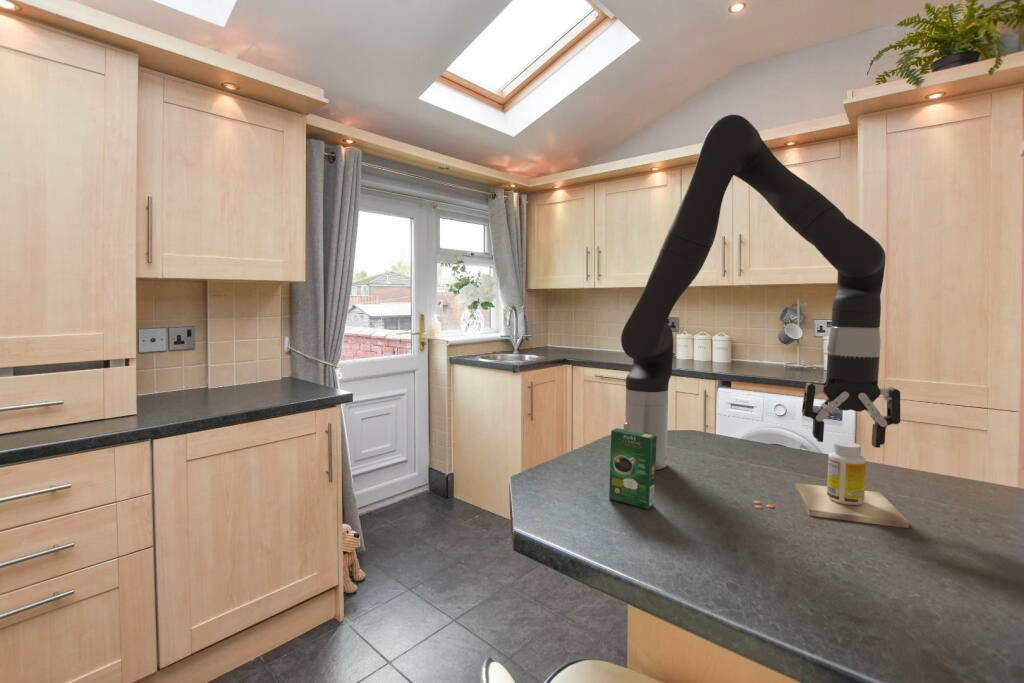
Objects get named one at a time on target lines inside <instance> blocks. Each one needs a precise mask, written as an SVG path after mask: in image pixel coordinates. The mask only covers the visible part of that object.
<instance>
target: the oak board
mask: <svg viewBox="0 0 1024 683" xmlns="http://www.w3.org/2000/svg"><path fill="white" fill-rule="evenodd" d="M794 490H795V491H796V494H797V496H798V497H799V499H800V501H801V503H802V504H803V507H804V509H805V511H806V513H807V514H808V516H810V517H818V518H827V519H835V520H844V521H849V522H855V523H856V522H857V523H865V524H873V525H874V524H875V525H881V526H889V527H897V528H904V529H905V528H906V529H909V528H910V521H909V520H908V519H907V518H906V517H905V516H904V515H903V514H902V513H901V512H900V511H899V510H898V509H897V508H896V507H895V506H894V505H893V504H892V503H891V502H890V501H889V500H888V499H887V498H886V497H885V496H884V495H883V494H882V493H881V492H880V491H871V490H865V495H864V502H863V503H862V504H860V505H846V504H841V503H838V502H835V501H833V500H831V499H830V498H829V497H828V496H827V485H825V486H824V485H819V484H818V485H816V484H806V483H798V482H794Z"/></svg>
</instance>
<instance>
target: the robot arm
mask: <svg viewBox="0 0 1024 683" xmlns="http://www.w3.org/2000/svg"><path fill="white" fill-rule="evenodd" d="M733 177H736V178H738V179H739V180H741V181H743V182H745V183H746V184H748V185H749V186H750V187H752V189H754V190H755V191H756V192H757V193H759V195H761V196H762V197H763V198H764V200H765V201H766V202H767V203H768V204H769V205H770V206H771V207H772V209H774V211H775V212H776V213H777V214H778V215H779V216H780V217H781V219H783V221H785V223H786V224H788V225H789V226H790V227H791V228H792V229H793V230H794V231H795V232H796V233H797V234H798V235H800V237H802V238H803V239H804V240H805V241H806V242H808V243H809V244H811V245H812V246H814V247H815V249H816V250H817V251H818V252H819V253H820V254H821V255H822V257H823V258H824V259H825V260H827V262H829V264H830V265H831V266H832V267H833V268H834V269H835V270H836V271H837V280H836V295H835V297H834V299H833V303H832V309H831V321H830V322H831V327H830V330H829V337H828V343H827V346H826V348H827V349H826V350H827V360H826V361H827V362H826V363H827V364H826V378H825V381H824V384H814V383H812V382H806V383H805V384H804V386H805V387H804V392H803V400H802V408H801V412H802V414H803V415H804V416H805V417H806V418H809V419H812V436H813V438H814V439H816V441H817V442H818V443H824V433H825V422H824V420H825V419H826V418H827V417H828V416H829V415H830V414H832V413H833V412H834V411H835V410H836V409H837V410H839V411H844V412H845V411H854V412H860V413H861V412H863V411H865V412H866V413H867V414H868V415H869V416H870V418H872V420H873V421H874V423H873V424H872V431H871V433H872V434H871V446H873V448H877V449H878V448H879V449H880V448H881V445H882V446H883V445H884V444H885V441H886V431H887V430H886V428H887V427H888V426H891V425H899V424H900V423H901V391H900V390H899V389H897V388H895V387H892V386H891V387H890V386H889V387H888V388H880V387H879V383H878V382H879V370H880V357H881V333H880V332H881V330H880V328H881V327H880V326H881V316H882V315H881V314H882V313H881V312H882V304H881V302H882V301H881V295H882V288H883V283H884V282H883V281H884V278H885V275H884V274H885V267H886V252H885V250H884V248H883V246H882V245H881V244H880V243H879V241H877V240H876V239H875V238H874V237H872V236H871V235H870V234H869V233H867V232H866V231H865V230H863V229H862V228H861V227H860V226H859V225H857V224H856V223H854V222H853V221H852V220H851V219H849V218H847V217H846V215H845V214H844V213H843V212H842V211H841V209H840V208H838V207H837V206H836V205H835V204H834V203H833V202H832V201H831V200H829V199H828V198H827V197H826V196H824V194H822V193H821V192H819V191H818V190H817V189H816V188H815V187H814V186H812V185H811V184H809V183H808V182H806V181H805V180H803V179H802V178H800V176H798V175H796V174H795V173H794V172H792V171H791V170H789V168H787V167H786V166H785V165H784V164H783V163H782V162H781V161H780V160H779V159H778V158H777V157H776V155H774V153H773V152H772V150H770V148H769V146H767V144H766V143H765V142H764V140H763V139H762V138H761V135H760V132H759V130H757V128H756V127H755V126H754V125H753V124H752V123H751V122H750V121H749V120H748V119H747V118H745V117H744V116H741V115H739V114H728V115H725V116H723V117H721V118H720V119H718V120H717V121H716V122H714V123H713V124H712V126H711V127H710V128H709V130H708V131H707V133H706V135H705V137H704V140H703V142H702V145H701V148H700V151H699V154H698V158H697V161H696V164H695V167H694V171H693V173H692V176H691V178H690V181H689V184H688V187H687V189H686V191H685V193H684V196H683V198H682V200H681V203H680V205H679V207H678V209H677V211H676V213H675V216H674V219H673V220H672V223H671V226H669V227H670V228H669V229H668V231H667V234H666V236H665V239H664V241H663V243H662V246H661V248H660V251H659V253H658V256H657V258H656V260H655V263H654V265H653V267H652V270H651V272H650V274H649V277H648V280H647V282H646V283H645V284H646V285H645V286H644V289H643V292H642V294H641V296H640V297H639V299H638V302H637V303H636V305H635V307H634V309H633V310H632V312H631V314H630V315H629V318H628V319H627V321H626V323H625V325H624V326H623V329H622V332H621V337H620V342H621V343H620V344H621V347H622V350H623V352H624V354H625V355H627V356H628V357H629V358H631V359H632V360H633V363H632V366H631V369H630V371H629V373H628V374H627V376H626V378H625V415H624V416H625V418H624V419H625V422H624V423H623V429H624V430H629V431H635V432H640V433H646V434H651V435H656V436H657V442H656V465H655V471H658V470H662V469H665V468H666V467H667V466H668V465H667V463H668V424H669V420H668V417H669V413H668V412H669V383H670V380H671V376H672V373H673V360H674V359H673V358H674V334H673V330H672V328H671V327H670V325H669V324H668V322H667V321H668V319H669V317H670V315H671V313H672V311H673V308H674V306H675V304H676V303H677V302H678V300H679V299H680V297H681V296H682V295H683V294H684V293H685V292H686V290H687V289H688V288H689V286H690V285H691V284H692V283H693V282H694V280H695V279H696V277H697V276H698V275H699V273H700V272H701V270H702V268H703V266H704V265H705V262H706V259H707V258H708V256H709V253H710V252H711V249H712V247H713V245H714V241H715V239H716V237H717V236H716V235H717V232H718V231H717V230H718V226H719V221H720V216H721V209H722V204H723V200H724V197H725V194H726V191H727V189H728V187H729V185H730V183H731V181H732V178H733ZM821 392H823V394H824V395H825V396H826V397H827V399H826V400H824V401H823V402H822V404H820V406H819V408H818V409H817V410H816V411H815V410H813V409H814V403H815V397H818V396H819V395H820V393H821ZM880 396H882V399H883V400H884V401H886V415H884V416H883V415H882V414H881V411H880V410H879V409H878V408H877V407H876V406H875V405H874V403H875V401H876V400H877V399H878V398H879V397H880Z"/></svg>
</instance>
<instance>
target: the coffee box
mask: <svg viewBox="0 0 1024 683" xmlns="http://www.w3.org/2000/svg"><path fill="white" fill-rule="evenodd" d="M656 442H657V436H656V435H651V434H646V433H640V432H635V431H629V430H624V428H618V427H616V428H614V429H612V430H611V431H610V453H609V454H610V457H609V487H608V488H609V489H608V490H609V491H608V492H609V493H608V499H609V500H612V501H616V502H618V503H623V504H626V505H631V506H634V507H637V508H640V509H641V508H642V509H646V510H650V509H651V508H653V506H654V505H655V504H654V503H655V486H656V485H655V480H656V470H655V465H656Z"/></svg>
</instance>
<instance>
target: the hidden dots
mask: <svg viewBox="0 0 1024 683" xmlns="http://www.w3.org/2000/svg"><path fill="white" fill-rule="evenodd" d="M752 503H754V504H755V505H753V507H754V508H755V509H759V510H762V509H764V507H763V506H762V505H761V504H762V501H759V500H753V501H752ZM765 507H766V508H769V509H774V508H776V506H775V505H773V504H765Z"/></svg>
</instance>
